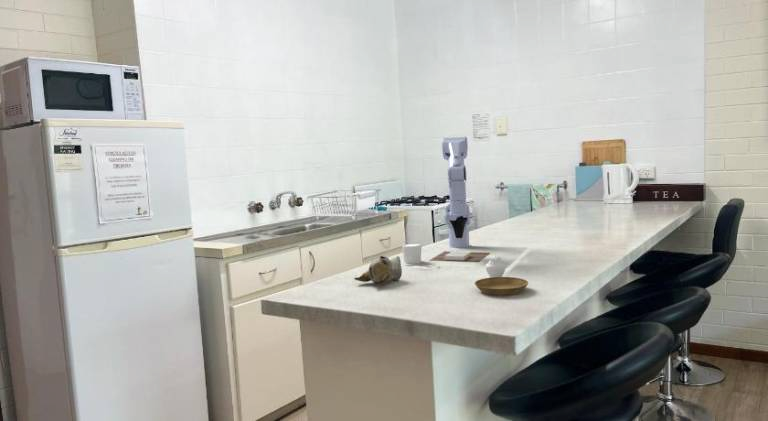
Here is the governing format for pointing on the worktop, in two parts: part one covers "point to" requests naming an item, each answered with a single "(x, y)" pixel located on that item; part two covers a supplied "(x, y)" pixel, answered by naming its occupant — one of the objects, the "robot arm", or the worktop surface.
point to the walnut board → (473, 258)
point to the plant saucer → (501, 285)
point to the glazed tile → (457, 256)
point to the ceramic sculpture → (382, 271)
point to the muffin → (495, 267)
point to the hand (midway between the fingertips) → (459, 237)
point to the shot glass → (412, 253)
